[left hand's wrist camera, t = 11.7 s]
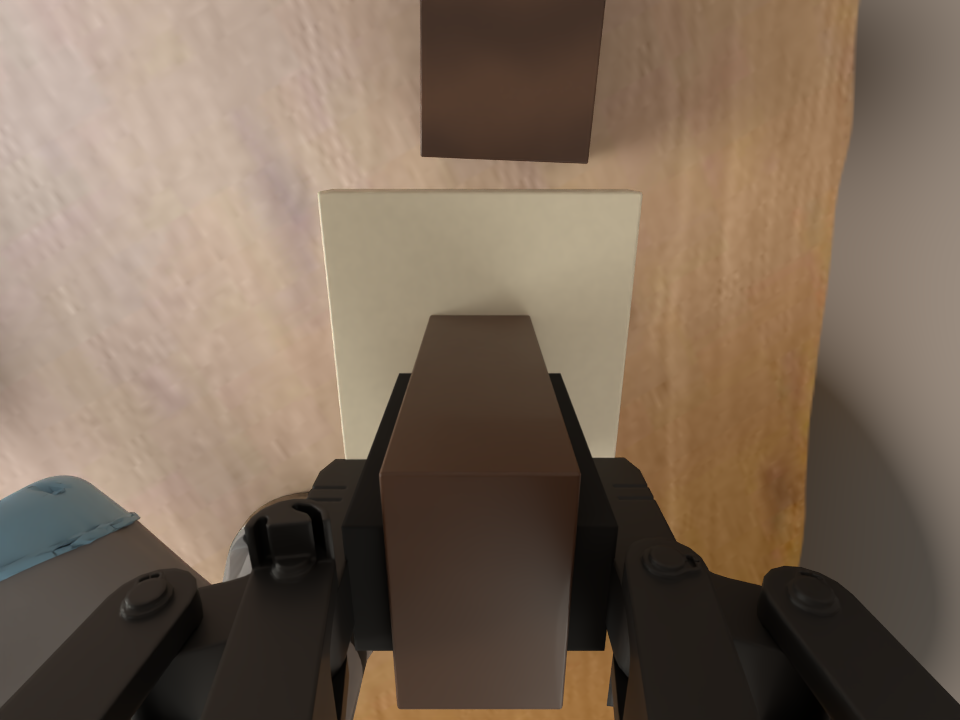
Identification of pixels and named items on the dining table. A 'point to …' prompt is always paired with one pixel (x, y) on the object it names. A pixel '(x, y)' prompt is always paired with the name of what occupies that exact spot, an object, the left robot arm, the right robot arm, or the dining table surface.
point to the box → (509, 78)
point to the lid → (479, 414)
